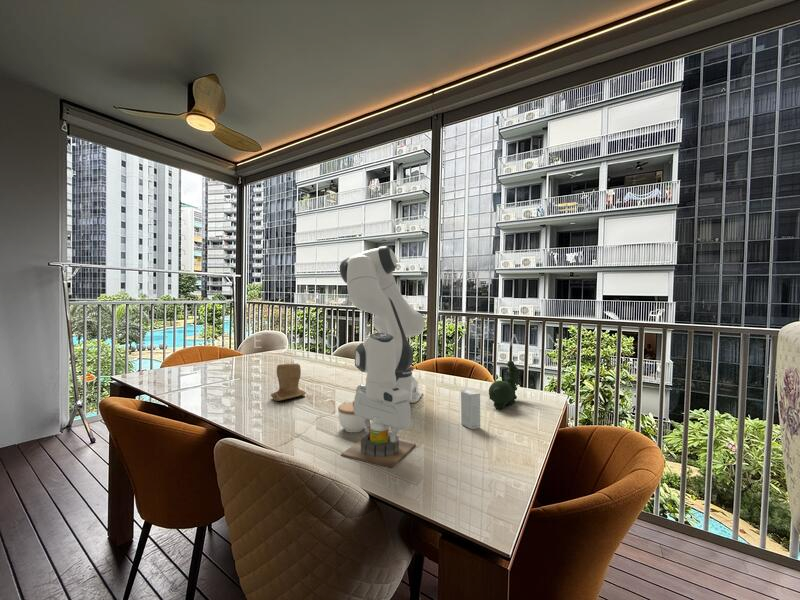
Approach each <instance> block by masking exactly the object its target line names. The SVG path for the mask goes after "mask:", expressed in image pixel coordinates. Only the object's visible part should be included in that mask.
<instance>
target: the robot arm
mask: <svg viewBox="0 0 800 600" xmlns="http://www.w3.org/2000/svg"><path fill="white" fill-rule="evenodd" d="M397 264H398V262H397V256H396V254H395V252H394V251H393V249H392V248H391V247H390V246H388V245H385V246H384V245H383V246H378V247H377V248H371V249H368V250H363V251H362V252H360V253H357V254H355V255H353V256H351V257H346V258H345V259H343V260H342V261H341V263H340V264H339V273H340V276H341V279H342V281H343V282H344V283H345V284H346V286H347V294H348V299H349V301H350V302H351V304H352V305H353V306H354V307H355V308H356V309H358V310H360V311H362V312H365V313H369V314H372V315H374V316H373V320H372V321H373V327H374V329H375V330H376V331H377V332H375V333H372V334H369V336H368V338H367V341H364V342H361V343H359V344H358V345H357V346H356V348H355V350H354V366H355V368H357V369H358V370H359V371H360V372H362V373H366V377H365V385H364V384H360V385H358V386H357V387H356V389H355V395H354V400H353V401H354V409H353V411H354V413H355V415H357V416H360V417H363V423H364V425H365V427H364V429H365V434H367V433H369V434H370V425H371V424H372V422H373V416H375V417H377V418H380V419H381V424H384V425H387V426H389V428H390V431H391V432H390V433H391V434H389V435H388V441H390V442H394V441H395V440H396V435H397V434H398V432H399V431H403V430H405V429H408V428H409V427H410V425H411V420H412V414H411V413H412V411H411V405H410V403H418V402H419V400H420V399H421V398H420V397H422V396H423V395H424V392H423V391H422V390H419V382H418V380H417V379H416V378H415V377H414V376H413V371H414V370H415V366H414V365H413V362H414V351H413V347H411V345H410V343H409V341H408V339H407V337H415V336H419V335H421V334H422V332H424V330H425V326H426V320H425V317H424V316H423V314H422V313H420V312H419V311H417V310H416V309H415V308H413V307H412V306H411V305H410V304H409V303H408V301H407V300H406V299H405V298H404V296H403V294H402V293H401V291H400V288H399V286H398V284H397V282H396V279H395V277H394V275H393V272H395V270H396V268H397ZM417 401H418V402H417ZM371 421H372V422H371Z"/></svg>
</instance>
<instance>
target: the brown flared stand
mask: <svg viewBox="0 0 800 600" xmlns="http://www.w3.org/2000/svg"><path fill="white" fill-rule="evenodd" d="M301 372H302V370H301V365H300V364H299V363H280V364H278V365H277V366H276V377H277V382H278V386H279V387H278V390H277V391H275V392H273V393H271V394H270V396H271V398H272V399H273V401H275V402H279V401H285V400H286V401H287V400H289V399H293V398H296V397H300V396H304V395H306V394H307V392H306V391H305V390H302V389H300V388H299V383H300V380H301V374H302V373H301Z"/></svg>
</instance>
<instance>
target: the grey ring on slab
mask: <svg viewBox="0 0 800 600" xmlns="http://www.w3.org/2000/svg"><path fill="white" fill-rule="evenodd" d="M389 434H391V432H389ZM416 446H417V444H416V443H412V442H408V441H407V442H406V441H402V440H400V438H399V435H397V434H396V440H395V441H394V442H390V441H388V442H386V443H373V442H370V434H369V433H365V434H363V435H362V436H361V437H360V441H357V443H355V444H353V445H352V446H350V447H349V448H347V449H346V450H344V451H343V452H341V453H340V456H342V457H345V458H350V459H354V460H357V461H358V460H359V461H361V462H366V463H370V464H372V465H373V464H375V465H379V466H381V467H386V468H391V469H392V468H393V467H395V466H396V465H397V464H398V463H399V462H400V461H402V459H403V458H404V457H406V455H408V454H409V453H410V452H411V451H412V450H414V449H415V448H416Z"/></svg>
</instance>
